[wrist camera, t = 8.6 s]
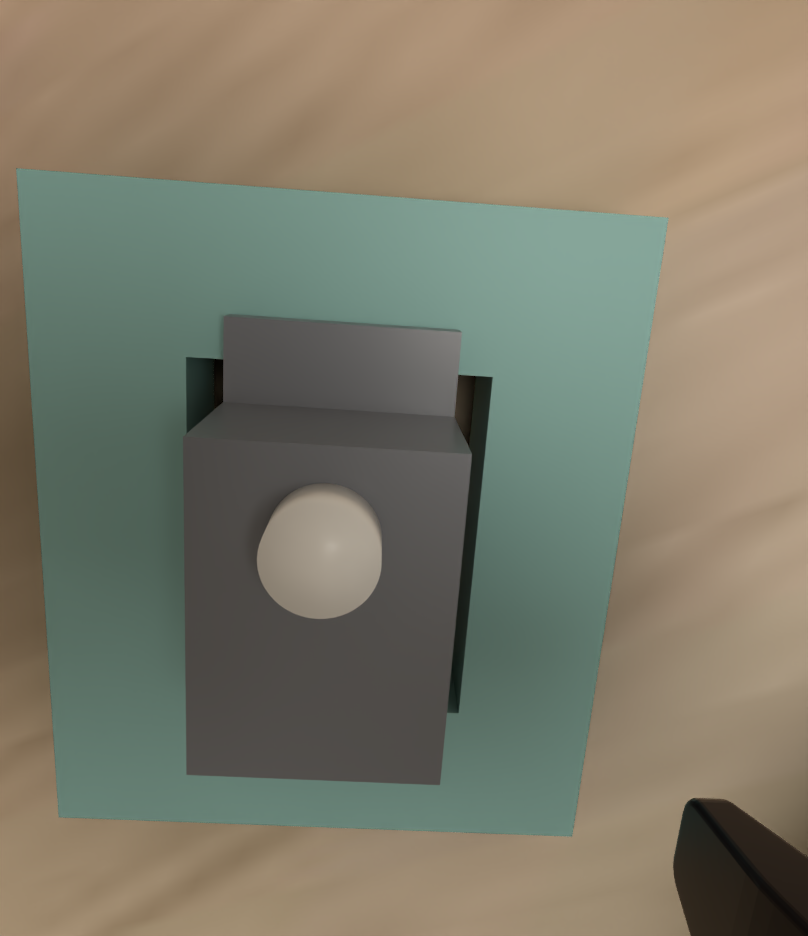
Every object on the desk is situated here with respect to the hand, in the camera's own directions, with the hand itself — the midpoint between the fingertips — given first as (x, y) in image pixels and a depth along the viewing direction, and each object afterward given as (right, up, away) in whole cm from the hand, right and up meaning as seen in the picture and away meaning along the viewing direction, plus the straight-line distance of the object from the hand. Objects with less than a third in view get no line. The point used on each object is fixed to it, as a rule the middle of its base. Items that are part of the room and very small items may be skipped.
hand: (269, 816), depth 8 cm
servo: (0, +3, +10) cm, 10 cm away
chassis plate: (0, +3, +10) cm, 10 cm away
